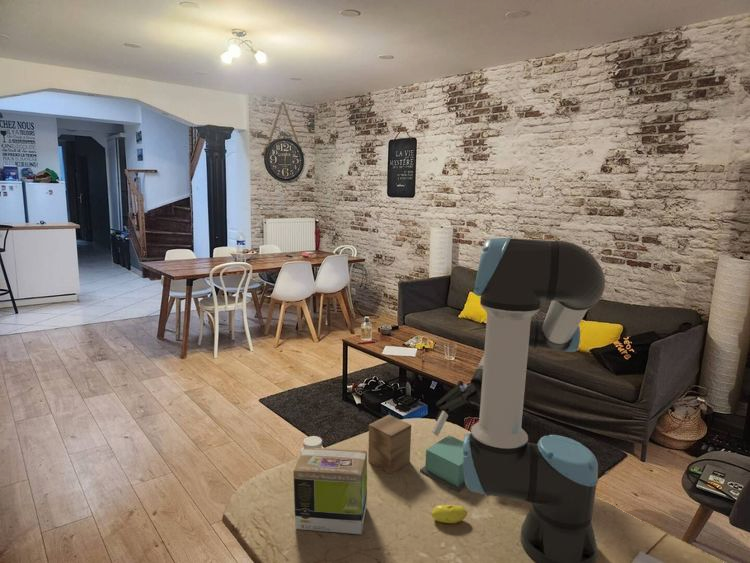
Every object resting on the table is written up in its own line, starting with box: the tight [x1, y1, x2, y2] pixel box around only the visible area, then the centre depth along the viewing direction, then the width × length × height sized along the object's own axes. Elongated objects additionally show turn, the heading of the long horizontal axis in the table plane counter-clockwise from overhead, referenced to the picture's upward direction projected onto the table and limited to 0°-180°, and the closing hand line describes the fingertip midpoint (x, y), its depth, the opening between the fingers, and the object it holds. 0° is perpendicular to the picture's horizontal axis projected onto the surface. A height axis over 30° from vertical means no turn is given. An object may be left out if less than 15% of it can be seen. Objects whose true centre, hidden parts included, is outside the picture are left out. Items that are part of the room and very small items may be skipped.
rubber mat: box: [419, 466, 467, 493], centre depth 130 cm, size 12×12×1 cm
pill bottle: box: [300, 435, 324, 455], centre depth 124 cm, size 6×6×11 cm
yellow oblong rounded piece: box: [431, 504, 468, 524], centre depth 111 cm, size 4×8×4 cm, turn 87°
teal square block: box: [425, 434, 465, 486], centre depth 129 cm, size 10×10×6 cm
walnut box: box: [367, 414, 412, 475], centre depth 133 cm, size 8×8×11 cm
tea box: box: [293, 447, 368, 535], centre depth 110 cm, size 15×10×15 cm
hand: (455, 443), depth 130 cm, fingers open, 13 cm apart
